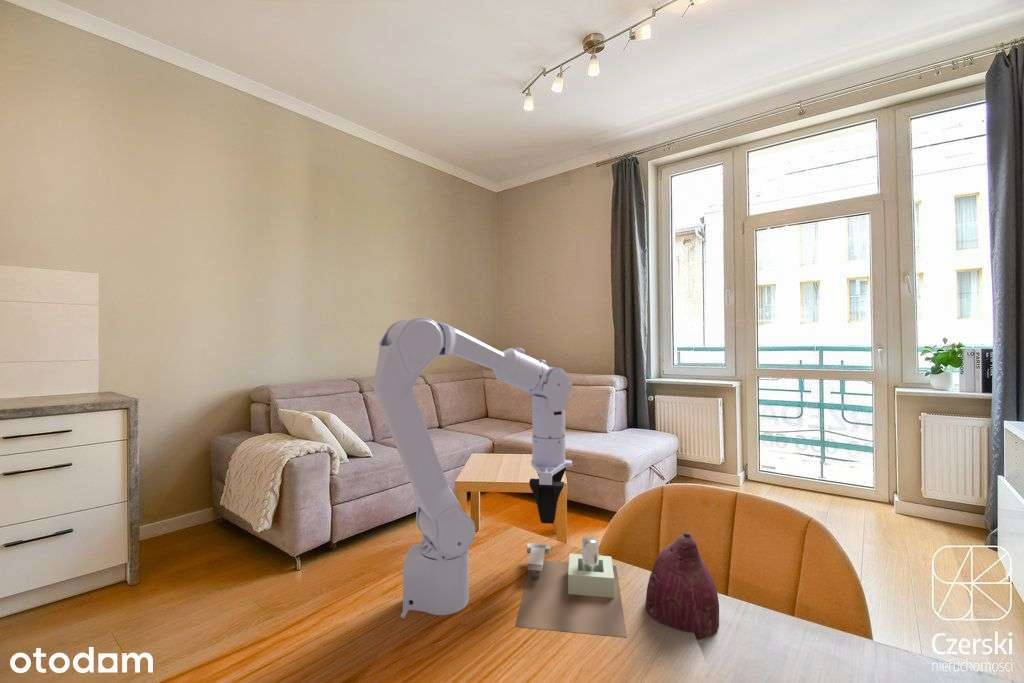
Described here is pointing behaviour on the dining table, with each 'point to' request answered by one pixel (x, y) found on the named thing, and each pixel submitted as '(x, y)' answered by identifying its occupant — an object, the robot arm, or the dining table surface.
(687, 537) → the vegetable
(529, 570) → the board
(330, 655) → the dining table surface
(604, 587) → the square hollow frame
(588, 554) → the pin
